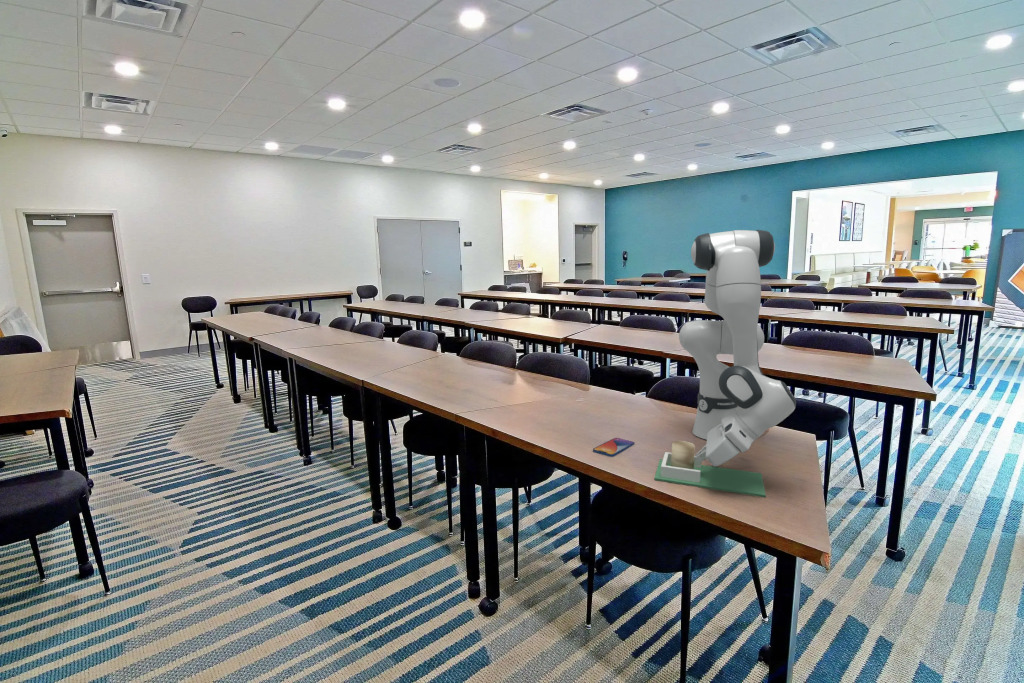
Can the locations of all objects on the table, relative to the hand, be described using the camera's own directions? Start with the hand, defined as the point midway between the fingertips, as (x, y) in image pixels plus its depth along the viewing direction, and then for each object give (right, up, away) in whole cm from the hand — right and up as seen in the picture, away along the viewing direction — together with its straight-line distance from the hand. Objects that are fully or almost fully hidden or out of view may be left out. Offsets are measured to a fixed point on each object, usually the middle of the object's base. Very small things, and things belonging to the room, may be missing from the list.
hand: (696, 459), depth 136 cm
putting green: (+3, -5, 0) cm, 6 cm away
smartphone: (-18, -2, +22) cm, 29 cm away
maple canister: (-3, -4, +2) cm, 6 cm away
